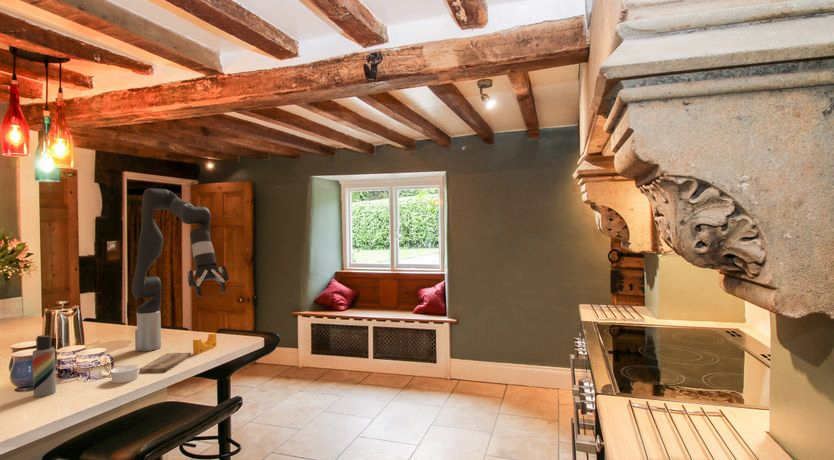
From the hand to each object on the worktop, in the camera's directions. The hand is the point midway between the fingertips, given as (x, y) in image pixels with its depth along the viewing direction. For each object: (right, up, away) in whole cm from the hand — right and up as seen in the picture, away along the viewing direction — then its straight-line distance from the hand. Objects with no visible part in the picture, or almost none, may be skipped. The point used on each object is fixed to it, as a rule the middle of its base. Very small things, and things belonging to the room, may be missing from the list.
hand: (211, 294), depth 164 cm
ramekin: (-28, -31, -8) cm, 42 cm away
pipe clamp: (-18, -30, +29) cm, 45 cm away
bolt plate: (-23, -30, +10) cm, 39 cm away
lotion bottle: (-47, -31, -21) cm, 60 cm away
